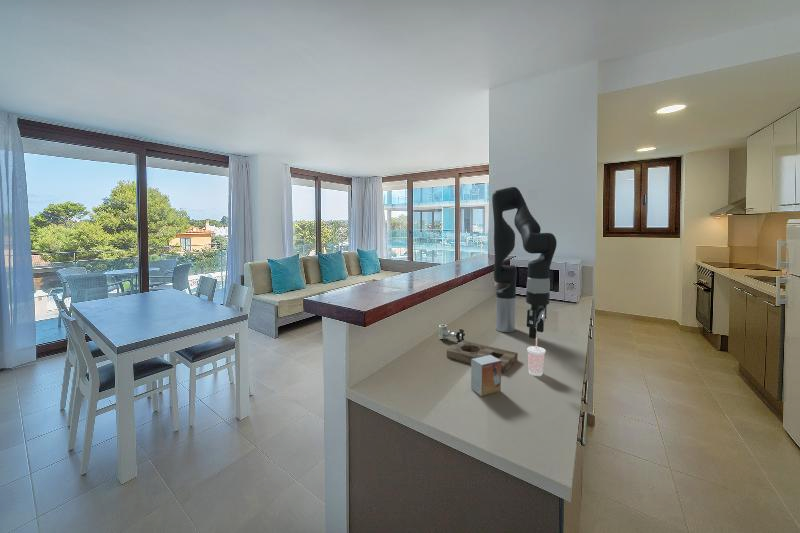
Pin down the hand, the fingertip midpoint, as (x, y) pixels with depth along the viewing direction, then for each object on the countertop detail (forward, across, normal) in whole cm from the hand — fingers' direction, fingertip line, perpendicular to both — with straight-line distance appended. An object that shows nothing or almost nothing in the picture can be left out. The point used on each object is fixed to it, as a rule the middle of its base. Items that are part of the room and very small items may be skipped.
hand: (536, 334), depth 113 cm
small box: (+15, +22, -9) cm, 28 cm away
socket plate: (+14, 0, -21) cm, 25 cm away
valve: (+14, -10, -42) cm, 45 cm away
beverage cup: (+15, 0, 0) cm, 15 cm away
